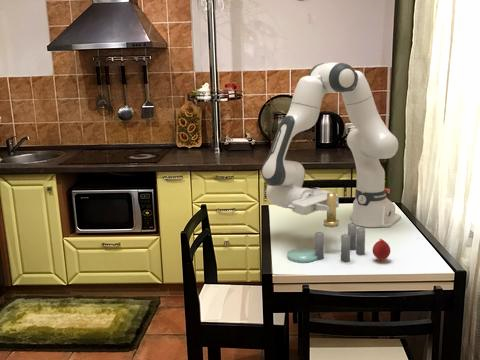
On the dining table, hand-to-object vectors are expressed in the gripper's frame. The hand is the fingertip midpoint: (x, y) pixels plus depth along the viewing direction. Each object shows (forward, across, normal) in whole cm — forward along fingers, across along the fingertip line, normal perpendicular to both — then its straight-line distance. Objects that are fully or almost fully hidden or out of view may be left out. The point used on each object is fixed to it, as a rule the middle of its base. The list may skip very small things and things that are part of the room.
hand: (333, 207), depth 188 cm
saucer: (-5, -11, +17) cm, 21 cm away
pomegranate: (+17, +4, +17) cm, 24 cm away
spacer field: (+4, -1, +17) cm, 17 cm away
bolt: (-1, 0, +7) cm, 7 cm away
